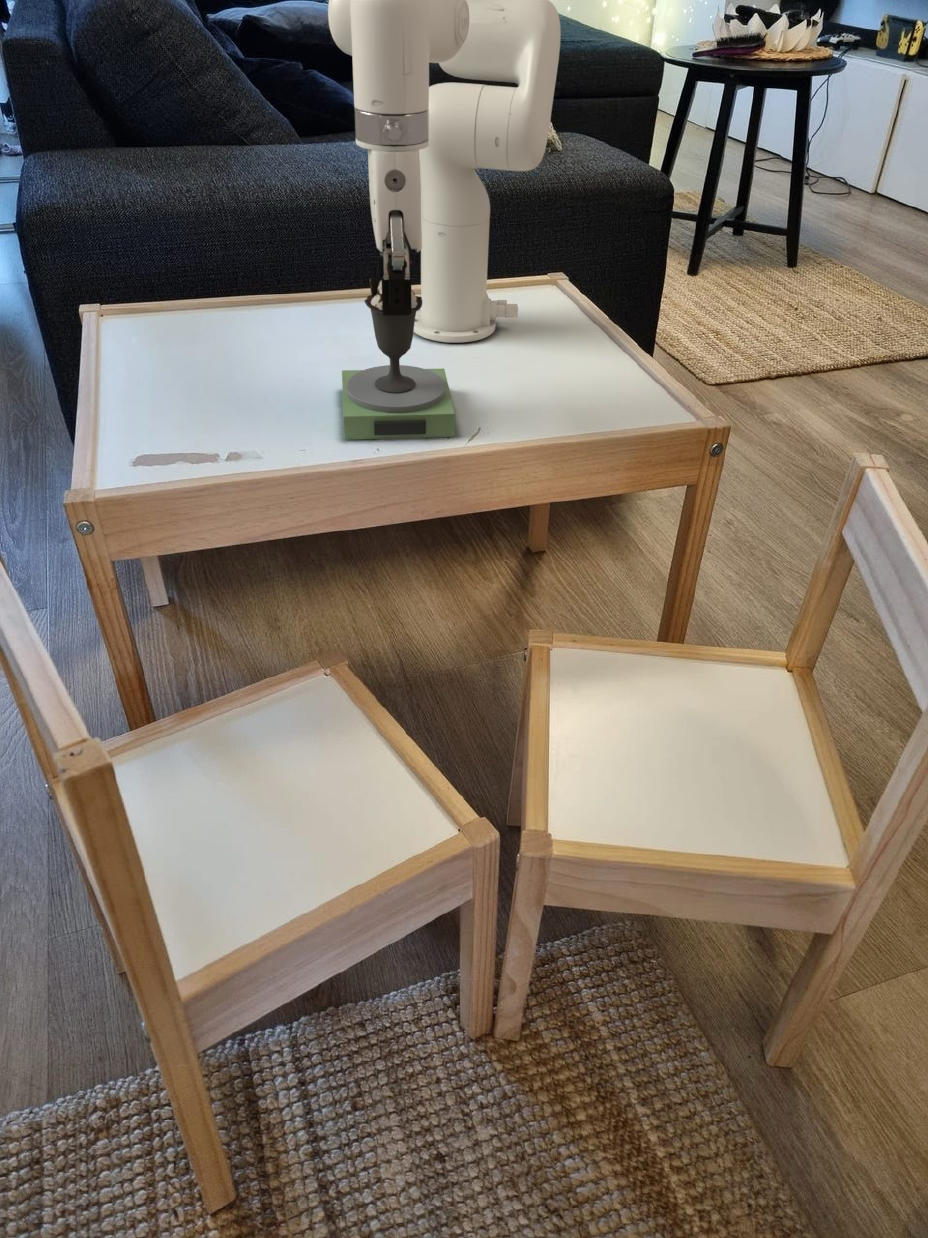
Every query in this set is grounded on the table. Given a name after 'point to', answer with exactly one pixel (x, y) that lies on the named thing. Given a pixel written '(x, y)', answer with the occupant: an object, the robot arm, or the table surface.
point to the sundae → (392, 337)
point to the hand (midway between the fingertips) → (394, 301)
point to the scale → (397, 405)
